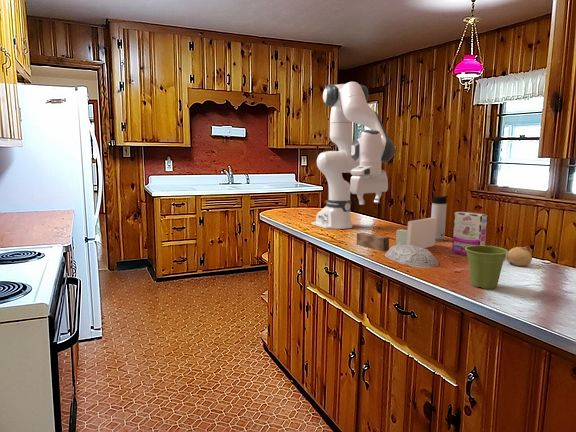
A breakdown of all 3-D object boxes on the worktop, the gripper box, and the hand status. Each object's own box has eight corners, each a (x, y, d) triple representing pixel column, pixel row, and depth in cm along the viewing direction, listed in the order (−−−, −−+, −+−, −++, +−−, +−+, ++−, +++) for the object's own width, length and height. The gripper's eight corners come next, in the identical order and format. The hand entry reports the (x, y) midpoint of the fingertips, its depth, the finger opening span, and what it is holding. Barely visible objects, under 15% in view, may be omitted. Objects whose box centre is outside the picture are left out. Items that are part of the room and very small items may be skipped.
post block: (391, 247, 183) (392, 218, 181) (416, 242, 195) (417, 215, 193) (409, 251, 176) (411, 221, 174) (434, 245, 188) (436, 217, 186)
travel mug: (446, 241, 196) (449, 196, 193) (430, 240, 198) (433, 196, 194) (444, 238, 202) (446, 195, 199) (429, 238, 204) (431, 194, 201)
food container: (418, 269, 150) (420, 249, 149) (372, 256, 172) (374, 239, 171) (451, 268, 157) (453, 250, 156) (403, 256, 179) (405, 240, 179)
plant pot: (479, 277, 141) (482, 243, 140) (513, 288, 131) (517, 251, 129) (453, 282, 136) (456, 247, 134) (487, 294, 125) (490, 255, 124)
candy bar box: (484, 256, 170) (488, 214, 167) (478, 258, 167) (481, 215, 164) (457, 251, 178) (460, 210, 176) (451, 252, 175) (454, 211, 172)
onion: (510, 267, 155) (512, 247, 154) (502, 261, 162) (504, 242, 161) (534, 268, 154) (536, 248, 153) (525, 262, 161) (527, 243, 160)
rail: (356, 245, 187) (356, 232, 186) (362, 243, 189) (362, 231, 189) (383, 251, 177) (383, 237, 176) (388, 249, 179) (389, 236, 178)
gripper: (380, 169, 190) (379, 201, 192) (347, 170, 177) (347, 204, 178) (392, 169, 185) (391, 202, 187) (359, 171, 172) (359, 206, 174)
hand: (369, 203), depth 183 cm, fingers open, 8 cm apart
